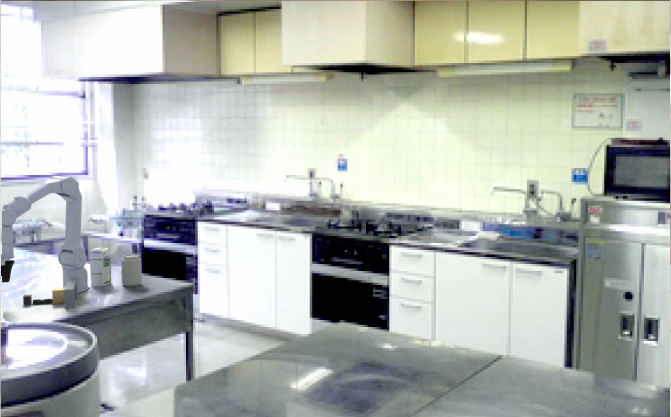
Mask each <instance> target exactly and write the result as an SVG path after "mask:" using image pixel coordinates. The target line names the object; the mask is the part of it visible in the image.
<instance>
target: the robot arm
mask: <svg viewBox="0 0 671 417" xmlns="http://www.w3.org/2000/svg"><path fill="white" fill-rule="evenodd" d="M50 194H54V195H55V194H56V195H58V196H60V197H61V198H62V199H63V200H64V201H65V202H66V203H65V226H64V243H62V245H61V246H60V251H59V254H58V258H57V261H58V264H60V265H61V268H62V287H65V286H66V284H67V281H68V279H77V294H80V293H82V292H84V291H87V290H88V289H91V286H89V280H88V277H89V276H88V269H86V267H85V265H86V264H87V262H88V259H87V258H88V257H87V255H86V248H85V247H84V245H83V244H82V242H81V241H82V240H81V239H82V238H81V237H82V236H81V234H82V230H81V229H82V209H83V208H82V206H83V195H82V192H81V190H80V183H79V181H77V180H76V178H74V177H72V176H58V175H53V176H51V177H50V178H48V179H46V180H45V181H44V182H43V183H41V184H40V185H39V186H37V187H36V188H35V189H33V190H32V191H31V192H29V193H28V194H27V195H25V196H23V195H16V196H14V197H13V200H11V201H10V202H8V203H7V204H6V203H5V204H3V205H2V254H1V276H2V281H1V283H9V282H10V280H11V275H12V274H11V273H12V269H13V266H14V264H15V260H14V258H15V254H14V252H15V251H14V229H13V228H14V227H13V225H14V224H15V223H16V221H17V219H18V218H19V217H21V216H23V215H24V214H25V213H27V212H29V211H30V210H31V209H32V206H33V204H34V203H37V202H38V201H40V200H41V199H43V198H45V197H46V196H48V195H50Z"/></svg>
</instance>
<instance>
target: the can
mask: <svg viewBox="0 0 671 417" xmlns="http://www.w3.org/2000/svg"><path fill="white" fill-rule="evenodd" d="M120 260H121V284H122V285H123V286H124V287H132V288H133V287H138V286H140V284H142V283H143V282H142V280H143V279H142V259H141V257H140V255H139V254H131V253H130V254H124V255H123V256H122V258H121V259H120Z"/></svg>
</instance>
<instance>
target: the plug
mask: <svg viewBox="0 0 671 417" xmlns="http://www.w3.org/2000/svg"><path fill="white" fill-rule="evenodd" d="M64 289H65V287H63V286H62V287H53V288H52V290H51V292H52V295H51V296H52V297H51V298H39V299H38V298H36V299H32V298H33V297H32V294H23V296H22V303H23V306H32V305H43V304H44V303H46V304H52V305H65V297H64ZM44 305H45V304H44Z"/></svg>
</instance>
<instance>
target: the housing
mask: <svg viewBox="0 0 671 417" xmlns="http://www.w3.org/2000/svg"><path fill="white" fill-rule="evenodd" d="M64 297H65V304H64V309H74V308H75V306H76V299H78V293H77V279H68V281H67V284H66V286H65V289H64Z"/></svg>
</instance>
